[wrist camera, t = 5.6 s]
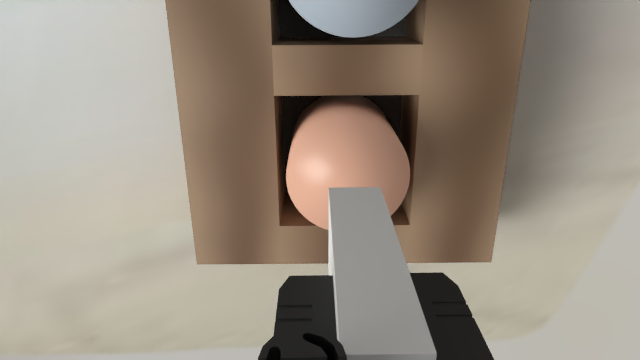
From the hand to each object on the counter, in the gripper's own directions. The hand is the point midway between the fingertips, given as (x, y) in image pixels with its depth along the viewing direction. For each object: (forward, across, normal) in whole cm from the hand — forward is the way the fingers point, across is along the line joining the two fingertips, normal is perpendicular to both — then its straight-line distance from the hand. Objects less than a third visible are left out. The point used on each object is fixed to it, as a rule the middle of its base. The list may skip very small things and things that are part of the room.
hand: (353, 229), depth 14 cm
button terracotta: (+10, 0, 0) cm, 10 cm away
